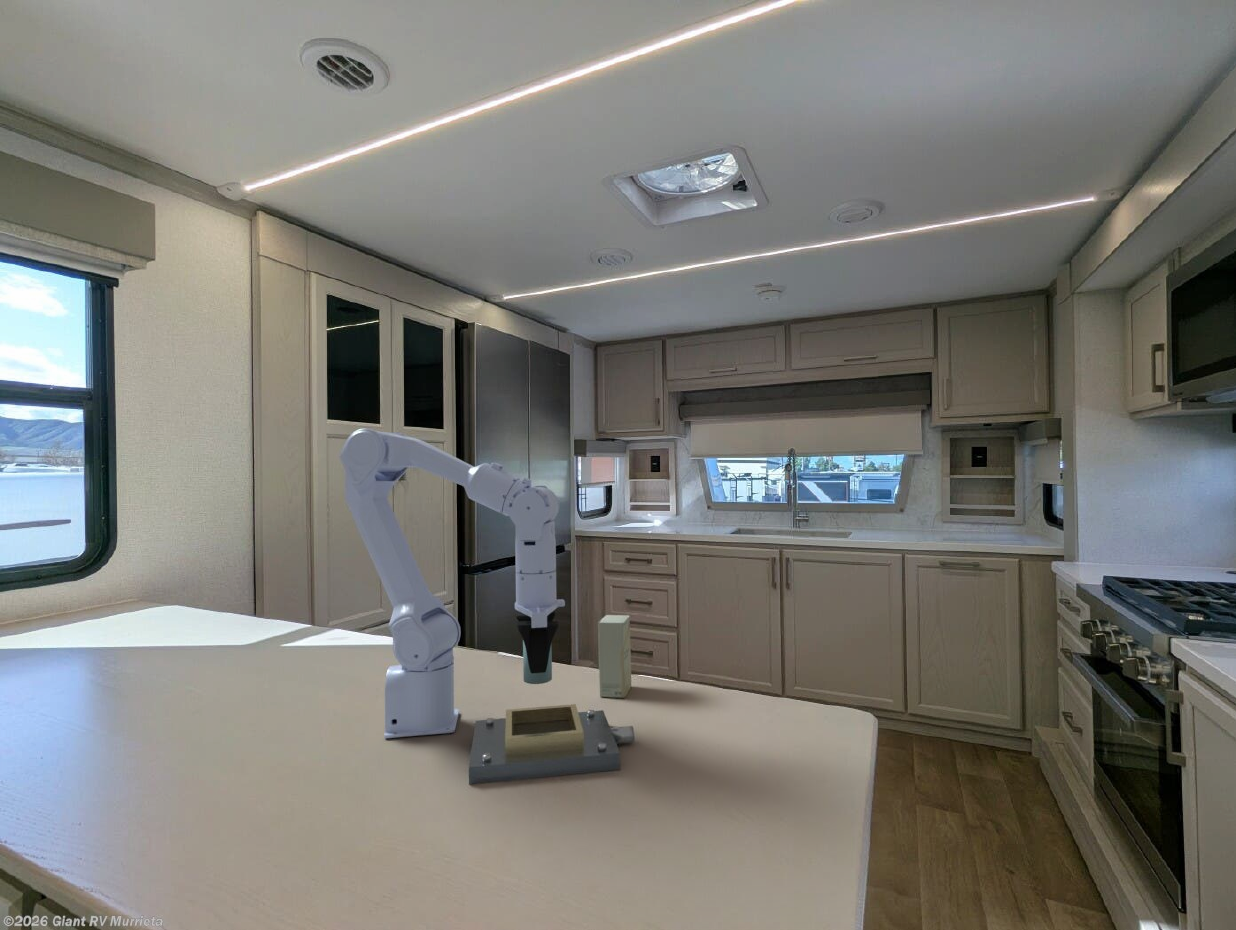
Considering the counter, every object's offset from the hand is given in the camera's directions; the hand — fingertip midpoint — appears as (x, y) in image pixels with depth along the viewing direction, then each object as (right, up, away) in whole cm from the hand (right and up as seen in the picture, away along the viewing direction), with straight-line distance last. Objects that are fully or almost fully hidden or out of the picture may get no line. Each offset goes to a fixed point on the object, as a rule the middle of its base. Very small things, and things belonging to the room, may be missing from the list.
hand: (537, 667), depth 86 cm
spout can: (0, -2, 0) cm, 2 cm away
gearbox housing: (+3, -9, -6) cm, 11 cm away
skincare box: (+11, -9, +15) cm, 21 cm away
